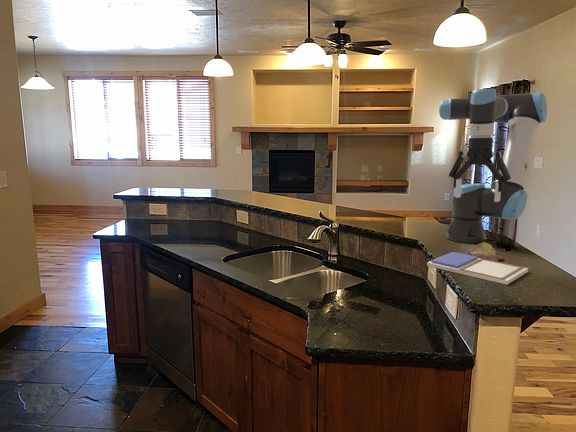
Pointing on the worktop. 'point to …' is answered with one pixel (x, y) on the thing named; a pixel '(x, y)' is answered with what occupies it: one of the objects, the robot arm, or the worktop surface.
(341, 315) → the worktop surface
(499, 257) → the rock
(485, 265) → the board
